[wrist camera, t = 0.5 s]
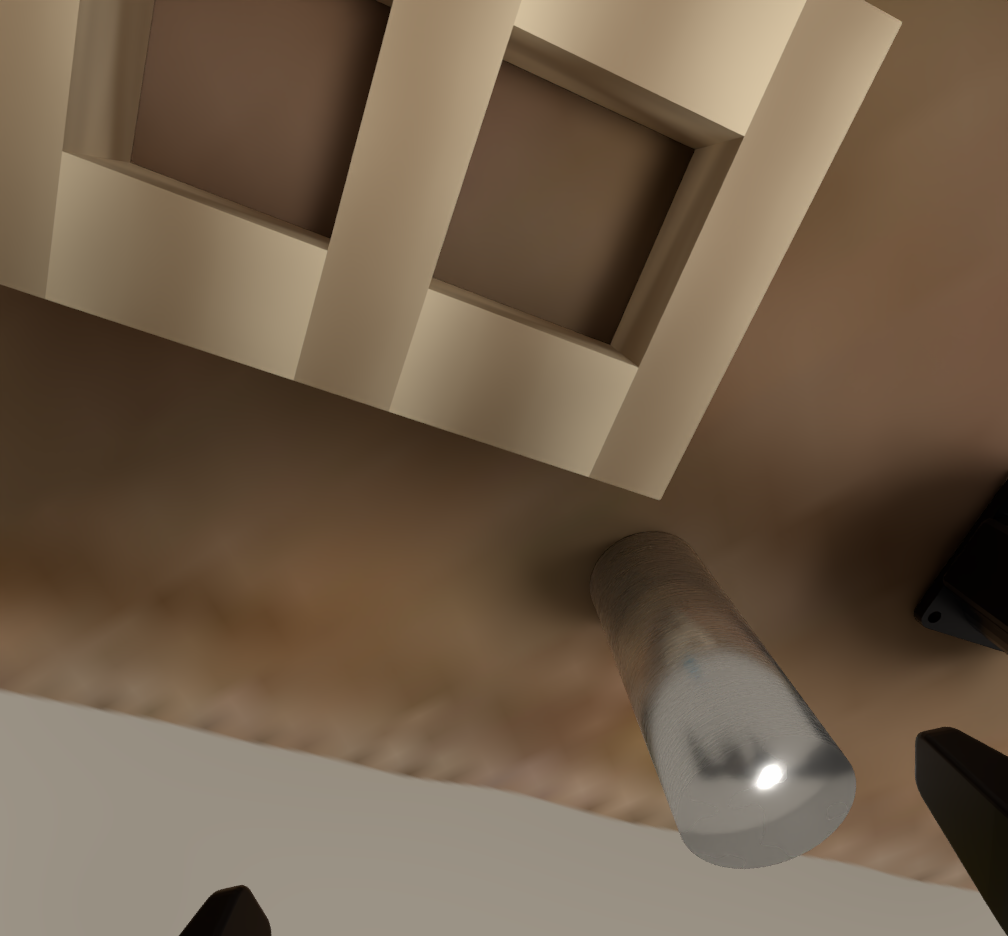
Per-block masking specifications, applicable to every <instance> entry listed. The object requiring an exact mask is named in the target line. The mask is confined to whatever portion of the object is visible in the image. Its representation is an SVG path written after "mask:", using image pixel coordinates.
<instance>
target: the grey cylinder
mask: <svg viewBox="0 0 1008 936" xmlns="http://www.w3.org/2000/svg"><path fill="white" fill-rule="evenodd" d="M590 594H591V599H592V601H593V604H594V607H595V609H596V612H597V614H598V617H599V620H600V622H601V625H602V628H603V630H604V633H605V636H606V638H607V641H608V644H609V646H610V649H611V652H612V654H613V657H614V660H615V662H616V665H617V668H618V670H619V673H620V676H621V678H622V681H623V684H624V686H625V689H626V692H627V694H628V697H629V700H630V702H631V705H632V708H633V710H634V713H635V716H636V718H637V721H638V724H639V726H640V729H641V732H642V734H643V737H644V740H645V742H646V745H647V748H648V750H649V753H650V756H651V758H652V761H653V763H654V766H655V769H656V771H657V774H658V777H659V779H660V782H661V785H662V787H663V790H664V793H665V795H666V798H667V801H668V803H669V806H670V809H671V811H672V814H673V817H674V819H675V822H676V825H677V827H678V830H679V833H680V835H681V838H682V840H683V841H684V843H685V845H686V846H687V847H688V848H689V849H690V851H691V852H693V853H694V854H695V855H697V856H698V857H699V858H701V859H703V860H705V861H707V862H709V863H712V864H714V865H718V866H722V867H728V868H736V869H737V868H738V869H750V868H760V867H766V866H771V865H775V864H779V863H782V862H784V861H788V860H790V859H792V858H795V857H797V856H800V855H802V854H803V853H805V852H807V851H809V850H811V849H812V848H814V847H815V846H817V845H819V844H820V843H821V842H822V841H824V840H825V839H826V838H827V837H829V836H830V835H831V834H832V833H833V832H834V831H835V830H836V829H837V828H838V826H839V825H840V824H841V823H842V822H843V820H844V819H845V817H846V816H847V814H848V812H849V810H850V808H851V806H852V803H853V800H854V797H855V792H856V779H855V774H854V771H853V768H852V766H851V764H850V763H849V761H848V760H847V758H846V757H845V756H844V754H843V753H842V751H841V750H840V749H839V747H838V746H837V745H836V743H835V742H834V741H833V739H832V738H831V737H830V735H829V734H828V732H827V731H826V730H825V728H824V727H823V726H822V724H821V723H820V722H819V720H818V719H817V717H816V716H815V715H814V713H813V712H812V711H811V709H810V708H809V707H808V705H807V704H806V703H805V701H804V700H803V698H802V697H801V696H800V694H799V693H798V692H797V690H796V689H795V688H794V686H793V685H792V683H791V682H790V681H789V679H788V678H787V677H786V675H785V674H784V673H783V671H782V670H781V669H780V667H779V666H778V664H777V663H776V662H775V660H774V659H773V658H772V656H771V655H770V654H769V652H768V651H767V649H766V648H765V647H764V645H763V644H762V643H761V641H760V640H759V639H758V637H757V636H756V634H755V633H754V632H753V630H752V629H751V628H750V626H749V625H748V624H747V622H746V621H745V620H744V618H743V617H742V615H741V614H740V613H739V611H738V610H737V609H736V607H735V606H734V605H733V603H732V602H731V600H730V599H729V598H728V596H727V595H726V594H725V592H724V591H723V590H722V588H721V587H720V586H719V584H718V583H717V581H716V580H715V579H714V577H713V576H712V575H711V573H710V572H709V571H708V569H707V568H706V566H705V565H704V564H703V562H702V561H701V560H700V558H699V557H698V556H697V554H696V553H695V552H694V550H693V549H692V548H691V547H690V546H689V544H687V543H686V542H685V541H684V540H682V539H680V538H679V537H677V536H674V535H672V534H668V533H664V532H642V533H638V534H634V535H631V536H628V537H626V538H624V539H622V540H620V541H618V542H617V543H615V544H614V545H612V546H611V547H610V548H609V549H608V550H607V551H606V552H605V553H604V554H603V555H602V556H601V557H600V559H599V560H598V562H597V563H596V565H595V567H594V569H593V572H592V575H591V579H590Z"/></svg>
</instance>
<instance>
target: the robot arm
mask: <svg viewBox="0 0 1008 936" xmlns="http://www.w3.org/2000/svg"><path fill="white" fill-rule="evenodd" d="M914 617H915V619H916V620H917V621H918V622H919V623H921V624H922V625H923V626H924V627H926V628H929V629H932V630H935V631H938V632H941V633H945V634H948V635H951V636H954V637H958V638H961V639H964V640H967V641H970V642H974V643H977V644H980V645H983V646H987V647H990V648H993V649H996V650H999V651H1003V652H1005V653H1006V654H1008V479H1007V480H1006V482H1005V483H1004V485H1003V486H1002V488H1001V489H1000V490H999V492H998V493H997V495H996V496H995V497H994V499H993V500H992V502H991V503H990V504H989V506H988V507H987V509H986V510H985V511H984V513H983V514H982V516H981V517H980V518H979V520H978V521H977V523H976V524H975V525H974V527H973V528H972V530H971V531H970V533H969V534H968V535H967V537H966V538H965V540H964V541H963V542H962V544H961V545H960V547H959V548H958V549H957V551H956V552H955V554H954V555H953V556H952V558H951V559H950V561H949V562H948V563H947V565H946V566H945V568H944V569H943V570H942V572H941V573H940V575H939V576H938V578H937V579H936V580H935V582H934V583H933V585H932V586H931V587H930V589H929V590H928V592H927V593H926V594H925V596H924V597H923V599H922V600H921V601H920V603H919V604H918V606H917V607H916V609H915V611H914ZM915 780H916V784H917V787H918V790H919V792H920V794H921V796H922V798H923V800H924V801H925V803H926V805H927V806H928V808H929V810H930V811H931V813H932V815H933V816H934V818H935V820H936V821H937V823H938V825H939V826H940V828H941V829H942V831H943V833H944V834H945V836H946V838H947V839H948V841H949V843H950V844H951V846H952V848H953V849H954V851H955V853H956V854H957V856H958V858H959V859H960V861H961V863H962V864H963V866H964V867H965V869H966V871H967V872H968V874H969V876H970V877H971V879H972V881H973V882H974V884H975V886H976V887H977V889H978V891H979V892H980V894H981V896H982V897H983V899H984V901H985V902H986V904H987V905H988V907H989V908H990V910H991V912H992V913H993V915H994V916H995V918H996V920H997V921H998V923H999V924H1000V926H1001V927H1002V929H1003V930H1004V931H1005V933H1006V935H1007V936H1008V756H1006V755H1004V754H1002V753H1000V752H998V751H997V750H995V749H993V748H991V747H989V746H987V745H985V744H984V743H982V742H980V741H978V740H976V739H974V738H973V737H971V736H969V735H967V734H965V733H963V732H961V731H959V730H957V729H955V728H951V727H941V728H937V729H932V730H928V731H923V732H920V733H919V734H918V735H917V737H916V741H915ZM179 936H271V927H270V923H269V921H268V919H267V917H266V915H265V913H264V912H263V910H262V909H261V907H260V905H259V904H258V902H257V900H256V899H255V897H254V895H253V894H252V892H251V891H250V889H249V888H248V887H246V886H244V885H239V886H234V887H230V888H225V889H221V890H218V891H216V892H215V893H213V894H212V895H211V896H210V897H209V898H208V899H207V900H206V902H205V903H204V904H203V905H202V907H201V908H200V909H199V911H198V912H197V913H196V915H195V916H194V917H193V918H192V919H191V921H190V922H189V923H188V925H187V926H186V927H185V928H184V930H183V931H182V932H181V934H180V935H179Z"/></svg>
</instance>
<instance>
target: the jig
mask: <svg viewBox="0 0 1008 936" xmlns="http://www.w3.org/2000/svg"><path fill="white" fill-rule="evenodd" d="M377 1H379V2H381V3H383V4H385V5H387V6H389V7H391V12H390V15H389V19H388V23H387V27H386V31H385V34H384V38H383V42H382V46H381V50H380V54H379V57H378V61H377V65H376V69H375V73H374V76H373V80H372V84H371V88H370V92H369V95H368V99H367V103H366V107H365V111H364V114H363V118H362V122H361V126H360V130H359V133H358V137H357V141H356V145H355V149H354V152H353V156H352V160H351V164H350V168H349V171H348V175H347V179H346V183H345V187H344V190H343V194H342V198H341V202H340V206H339V209H338V213H337V217H336V221H335V225H334V228H333V232H332V236H331V239H330V238H327V237H325V236H322V235H319V234H317V233H314V232H312V231H309V230H306V229H304V228H301V227H298V226H296V225H293V224H291V223H288V222H285V221H283V220H280V219H277V218H275V217H272V216H269V215H267V214H264V213H262V212H259V211H256V210H254V209H251V208H248V207H246V206H243V205H240V204H238V203H235V202H233V201H230V200H227V199H225V198H222V197H219V196H217V195H214V194H212V193H209V192H206V191H204V190H201V189H198V188H196V187H193V186H190V185H188V184H185V183H183V182H180V181H177V180H175V179H172V178H169V177H167V176H164V175H162V174H159V173H156V172H154V171H151V170H148V169H146V168H143V167H140V166H138V165H135V164H133V163H130V161H131V154H132V148H133V141H134V134H135V128H136V121H137V115H138V108H139V101H140V95H141V88H142V81H143V75H144V68H145V62H146V55H147V48H148V42H149V35H150V28H151V22H152V15H153V9H154V2H155V0H0V284H1V285H4V286H7V287H10V288H13V289H16V290H19V291H22V292H25V293H28V294H31V295H34V296H37V297H40V298H43V299H47V300H50V301H53V302H56V303H59V304H62V305H65V306H68V307H71V308H74V309H77V310H80V311H83V312H86V313H89V314H92V315H95V316H98V317H101V318H104V319H108V320H111V321H114V322H117V323H120V324H123V325H126V326H129V327H132V328H135V329H138V330H141V331H144V332H147V333H150V334H153V335H156V336H159V337H162V338H166V339H169V340H172V341H175V342H178V343H181V344H184V345H187V346H190V347H193V348H196V349H199V350H202V351H205V352H208V353H211V354H214V355H217V356H220V357H224V358H227V359H230V360H233V361H236V362H239V363H242V364H245V365H248V366H251V367H254V368H257V369H260V370H263V371H266V372H269V373H272V374H275V375H278V376H282V377H285V378H288V379H291V380H294V381H297V382H300V383H303V384H306V385H309V386H312V387H315V388H318V389H321V390H324V391H327V392H330V393H333V394H336V395H339V396H343V397H346V398H349V399H352V400H355V401H358V402H361V403H364V404H367V405H370V406H373V407H376V408H379V409H382V410H385V411H388V412H391V413H394V414H397V415H401V416H404V417H407V418H410V419H413V420H416V421H419V422H422V423H425V424H428V425H431V426H434V427H437V428H440V429H443V430H446V431H449V432H452V433H455V434H459V435H462V436H465V437H468V438H471V439H474V440H477V441H480V442H483V443H486V444H489V445H492V446H495V447H498V448H501V449H504V450H507V451H510V452H513V453H516V454H520V455H523V456H526V457H529V458H532V459H535V460H538V461H541V462H544V463H547V464H550V465H553V466H556V467H559V468H562V469H565V470H568V471H571V472H574V473H578V474H581V475H584V476H587V477H590V478H593V479H596V480H599V481H602V482H605V483H608V484H611V485H614V486H617V487H620V488H623V489H626V490H629V491H632V492H636V493H639V494H642V495H645V496H648V497H651V498H654V499H657V500H660V499H661V497H662V495H663V493H664V491H665V489H666V487H667V485H668V484H669V482H670V480H671V478H672V476H673V474H674V472H675V470H676V468H677V466H678V464H679V462H680V460H681V458H682V456H683V454H684V452H685V450H686V448H687V446H688V444H689V442H690V440H691V438H692V436H693V434H694V432H695V430H696V428H697V426H698V424H699V422H700V420H701V418H702V416H703V415H704V413H705V411H706V409H707V407H708V405H709V403H710V401H711V399H712V397H713V395H714V393H715V391H716V389H717V387H718V385H719V383H720V381H721V379H722V377H723V375H724V373H725V371H726V369H727V367H728V365H729V363H730V361H731V359H732V357H733V355H734V353H735V351H736V349H737V347H738V346H739V344H740V342H741V340H742V338H743V336H744V334H745V332H746V330H747V328H748V326H749V324H750V322H751V320H752V318H753V316H754V314H755V312H756V310H757V308H758V306H759V304H760V302H761V300H762V298H763V296H764V294H765V292H766V290H767V288H768V286H769V284H770V282H771V280H772V279H773V277H774V275H775V273H776V271H777V269H778V267H779V265H780V263H781V261H782V259H783V257H784V255H785V253H786V251H787V249H788V247H789V245H790V243H791V241H792V239H793V237H794V235H795V233H796V231H797V229H798V227H799V225H800V223H801V221H802V219H803V217H804V215H805V213H806V211H807V210H808V208H809V206H810V204H811V202H812V200H813V198H814V196H815V194H816V192H817V190H818V188H819V186H820V184H821V182H822V180H823V178H824V176H825V174H826V172H827V170H828V168H829V166H830V164H831V162H832V160H833V158H834V156H835V154H836V152H837V150H838V148H839V146H840V144H841V142H842V141H843V139H844V137H845V135H846V133H847V131H848V129H849V127H850V125H851V123H852V121H853V119H854V117H855V115H856V113H857V111H858V109H859V107H860V105H861V103H862V101H863V99H864V97H865V95H866V93H867V91H868V89H869V87H870V85H871V83H872V81H873V79H874V77H875V75H876V73H877V72H878V70H879V68H880V66H881V64H882V62H883V60H884V58H885V56H886V54H887V52H888V50H889V48H890V46H891V44H892V42H893V40H894V38H895V36H896V34H897V32H898V30H899V28H900V26H901V24H902V22H901V21H899V20H898V19H896V18H894V17H892V16H891V15H889V14H887V13H885V12H883V11H882V10H880V9H878V8H876V7H875V6H873V5H871V4H869V3H867V2H866V1H864V0H377ZM502 59H503V60H505V61H507V62H509V63H511V64H513V65H515V66H518V67H520V68H522V69H524V70H526V71H528V72H530V73H533V74H535V75H537V76H539V77H541V78H543V79H545V80H547V81H550V82H552V83H554V84H556V85H558V86H560V87H562V88H565V89H567V90H569V91H571V92H573V93H575V94H577V95H580V96H582V97H584V98H586V99H588V100H590V101H592V102H594V103H597V104H599V105H601V106H603V107H605V108H607V109H609V110H612V111H614V112H616V113H618V114H620V115H622V116H624V117H627V118H629V119H631V120H633V121H635V122H637V123H639V124H642V125H644V126H646V127H648V128H650V129H652V130H654V131H656V132H659V133H661V134H663V135H665V136H667V137H669V138H671V139H674V140H676V141H678V142H680V143H682V144H684V145H686V146H689V147H691V148H693V149H695V151H694V153H693V156H692V158H691V160H690V163H689V165H688V167H687V169H686V172H685V174H684V176H683V179H682V181H681V183H680V186H679V188H678V190H677V192H676V195H675V197H674V199H673V202H672V204H671V206H670V208H669V211H668V213H667V215H666V218H665V220H664V222H663V225H662V227H661V229H660V231H659V234H658V236H657V238H656V241H655V243H654V245H653V248H652V250H651V252H650V254H649V257H648V259H647V261H646V264H645V266H644V268H643V271H642V273H641V275H640V277H639V280H638V282H637V284H636V287H635V289H634V291H633V294H632V296H631V298H630V300H629V303H628V305H627V307H626V310H625V312H624V314H623V316H622V319H621V321H620V323H619V326H618V328H617V330H616V333H615V335H614V337H613V339H612V342H611V344H610V345H609V344H606V343H604V342H601V341H599V340H596V339H593V338H591V337H588V336H585V335H583V334H580V333H577V332H575V331H572V330H570V329H567V328H564V327H562V326H559V325H556V324H554V323H551V322H549V321H546V320H543V319H541V318H538V317H535V316H533V315H530V314H527V313H525V312H522V311H520V310H517V309H514V308H512V307H509V306H506V305H504V304H501V303H498V302H496V301H493V300H491V299H488V298H485V297H483V296H480V295H477V294H475V293H472V292H470V291H467V290H464V289H462V288H459V287H456V286H454V285H451V284H448V283H446V282H443V281H441V280H438V279H435V278H433V277H432V276H433V273H434V270H435V267H436V263H437V260H438V257H439V254H440V251H441V248H442V245H443V242H444V239H445V236H446V233H447V229H448V226H449V223H450V220H451V217H452V214H453V211H454V208H455V205H456V202H457V199H458V195H459V192H460V189H461V186H462V183H463V180H464V177H465V174H466V171H467V168H468V164H469V161H470V158H471V155H472V152H473V149H474V146H475V143H476V140H477V137H478V134H479V130H480V127H481V124H482V121H483V118H484V115H485V112H486V109H487V106H488V103H489V100H490V96H491V93H492V90H493V87H494V84H495V81H496V78H497V75H498V72H499V69H500V65H501V62H502Z"/></svg>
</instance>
